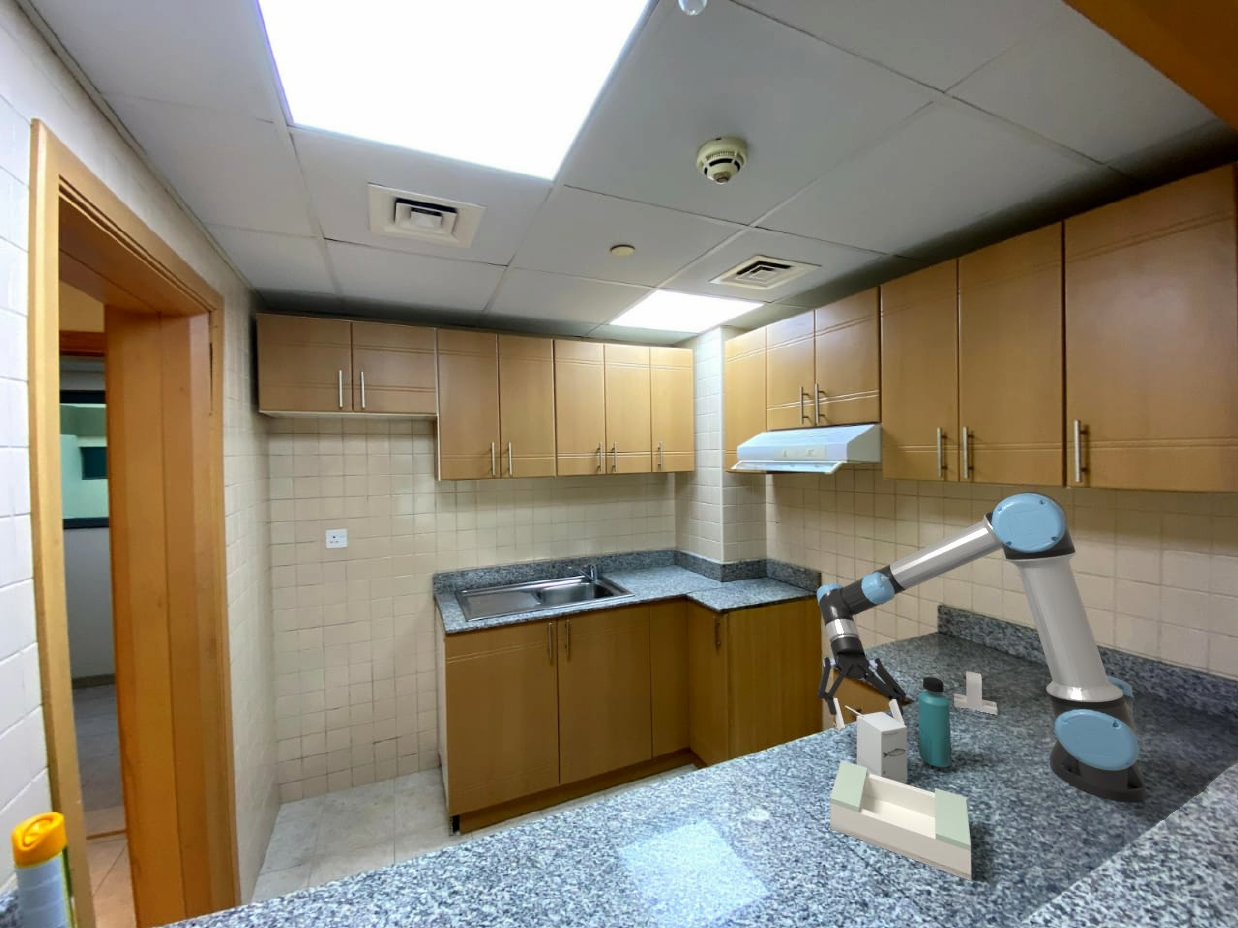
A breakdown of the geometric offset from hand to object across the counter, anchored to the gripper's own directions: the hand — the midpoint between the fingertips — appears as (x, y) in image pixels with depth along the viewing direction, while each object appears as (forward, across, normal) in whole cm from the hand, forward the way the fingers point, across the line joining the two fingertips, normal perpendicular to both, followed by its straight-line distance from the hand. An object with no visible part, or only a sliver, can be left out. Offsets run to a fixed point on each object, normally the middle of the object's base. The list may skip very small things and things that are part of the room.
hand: (872, 730), depth 112 cm
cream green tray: (+19, +4, +7) cm, 21 cm away
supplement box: (+8, -1, -4) cm, 9 cm away
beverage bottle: (+5, -15, -8) cm, 18 cm away
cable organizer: (-15, -42, -28) cm, 53 cm away
